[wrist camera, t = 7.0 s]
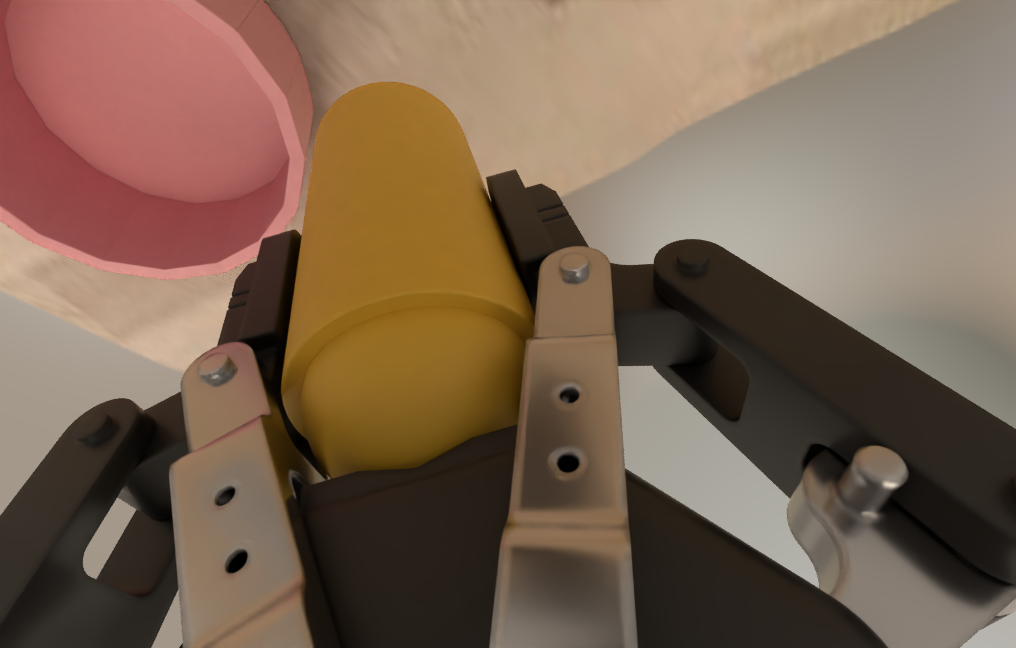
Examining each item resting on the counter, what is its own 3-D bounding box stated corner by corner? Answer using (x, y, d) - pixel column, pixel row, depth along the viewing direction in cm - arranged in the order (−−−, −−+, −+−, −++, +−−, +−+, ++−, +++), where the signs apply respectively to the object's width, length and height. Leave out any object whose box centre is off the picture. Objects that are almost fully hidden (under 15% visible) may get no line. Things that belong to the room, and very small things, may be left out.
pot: (-93, -75, 21) (-245, -53, 16) (263, -86, 23) (236, -70, 18) (100, 221, 31) (46, 296, 26) (338, 193, 33) (334, 258, 28)
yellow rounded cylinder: (294, 87, 13) (203, 437, 5) (463, 75, 14) (609, 367, 6) (335, 233, 17) (316, 593, 9) (471, 217, 17) (574, 534, 9)
